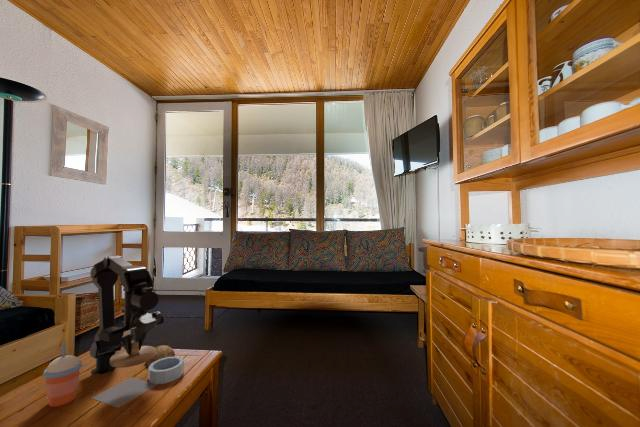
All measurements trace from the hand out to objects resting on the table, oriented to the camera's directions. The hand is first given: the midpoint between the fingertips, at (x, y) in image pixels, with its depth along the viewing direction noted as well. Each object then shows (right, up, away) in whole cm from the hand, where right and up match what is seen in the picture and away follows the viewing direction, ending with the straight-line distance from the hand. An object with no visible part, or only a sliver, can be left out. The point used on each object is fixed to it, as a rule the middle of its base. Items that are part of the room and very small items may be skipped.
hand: (133, 352), depth 95 cm
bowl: (+7, -12, +8) cm, 16 cm away
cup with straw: (-18, -12, -7) cm, 23 cm away
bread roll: (-2, -13, +18) cm, 23 cm away
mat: (-1, -12, -2) cm, 12 cm away
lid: (0, -2, 0) cm, 2 cm away
